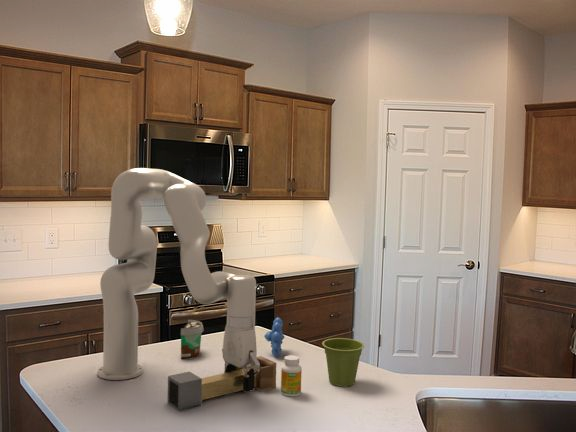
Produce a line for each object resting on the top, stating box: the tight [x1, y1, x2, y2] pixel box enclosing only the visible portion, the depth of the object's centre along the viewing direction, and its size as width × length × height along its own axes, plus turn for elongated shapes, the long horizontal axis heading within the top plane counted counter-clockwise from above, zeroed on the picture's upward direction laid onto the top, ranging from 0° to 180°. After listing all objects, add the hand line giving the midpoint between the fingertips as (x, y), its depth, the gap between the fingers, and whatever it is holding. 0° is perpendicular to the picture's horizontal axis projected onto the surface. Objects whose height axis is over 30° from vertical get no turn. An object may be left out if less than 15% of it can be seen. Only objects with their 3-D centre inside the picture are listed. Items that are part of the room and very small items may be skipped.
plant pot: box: [321, 337, 365, 388], centre depth 160 cm, size 12×12×11 cm
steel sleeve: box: [167, 371, 203, 413], centre depth 141 cm, size 6×6×7 cm
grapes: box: [263, 316, 285, 357], centre depth 185 cm, size 12×7×12 cm, turn 176°
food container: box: [180, 319, 205, 360], centre depth 182 cm, size 12×6×10 cm, turn 179°
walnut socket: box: [246, 355, 277, 392], centre depth 156 cm, size 7×5×7 cm
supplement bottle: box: [280, 354, 303, 398], centre depth 151 cm, size 5×5×10 cm
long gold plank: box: [201, 365, 263, 401], centre depth 149 cm, size 4×24×4 cm, turn 129°
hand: (239, 385), depth 152 cm, fingers open, 8 cm apart
